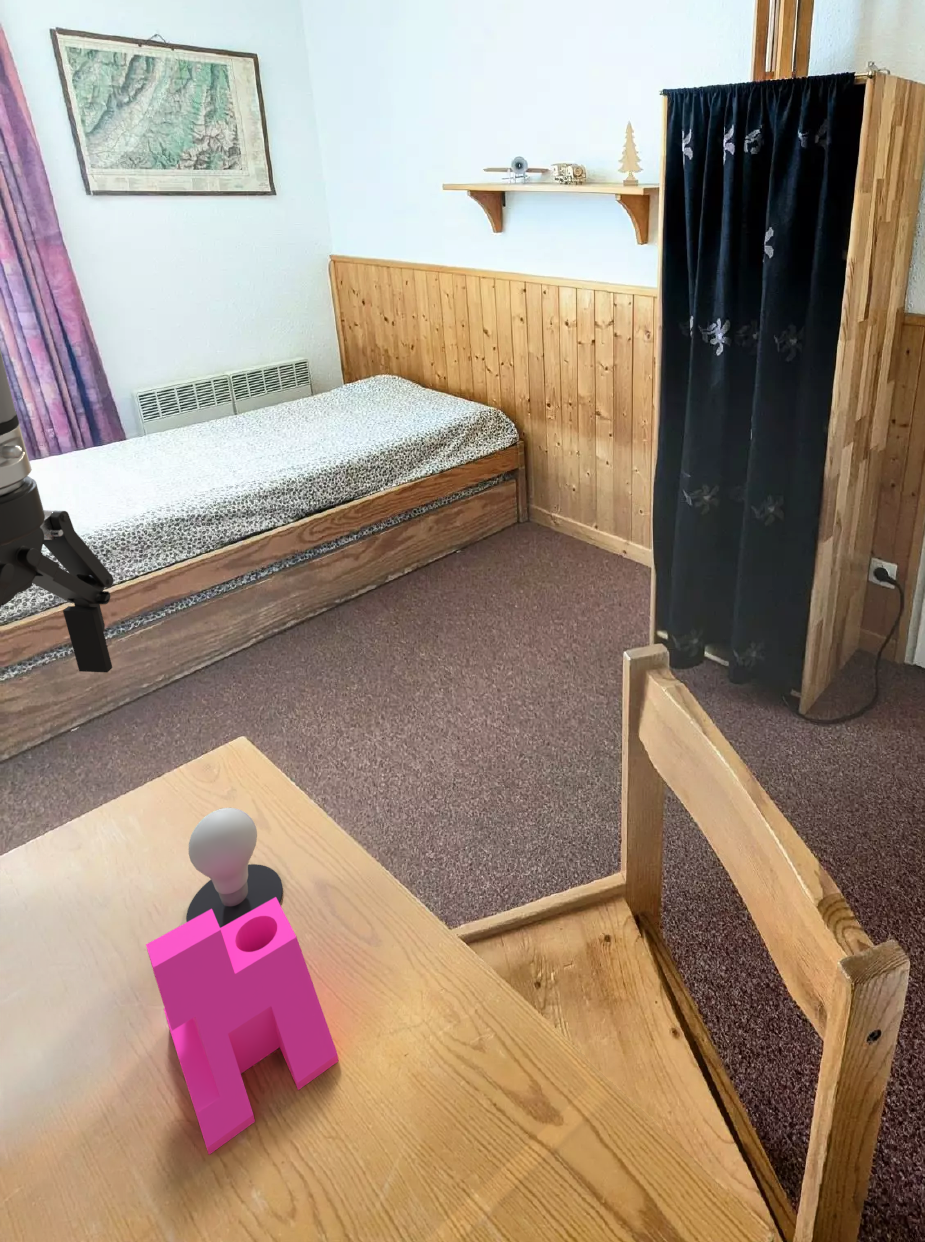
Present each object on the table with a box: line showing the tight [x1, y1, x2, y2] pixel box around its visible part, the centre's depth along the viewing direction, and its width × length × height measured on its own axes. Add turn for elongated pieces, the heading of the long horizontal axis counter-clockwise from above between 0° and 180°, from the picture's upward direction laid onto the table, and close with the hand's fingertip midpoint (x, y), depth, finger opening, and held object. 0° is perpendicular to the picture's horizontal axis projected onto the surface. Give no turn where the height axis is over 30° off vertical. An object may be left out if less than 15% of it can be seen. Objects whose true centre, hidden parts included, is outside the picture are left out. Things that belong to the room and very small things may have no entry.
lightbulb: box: [188, 807, 258, 906], centre depth 76 cm, size 6×6×11 cm
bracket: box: [145, 897, 339, 1156], centre depth 64 cm, size 12×10×10 cm
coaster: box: [185, 863, 284, 928], centre depth 78 cm, size 9×9×1 cm
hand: (43, 718), depth 65 cm, fingers open, 13 cm apart
